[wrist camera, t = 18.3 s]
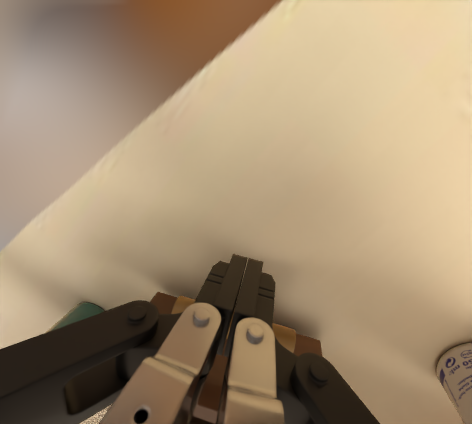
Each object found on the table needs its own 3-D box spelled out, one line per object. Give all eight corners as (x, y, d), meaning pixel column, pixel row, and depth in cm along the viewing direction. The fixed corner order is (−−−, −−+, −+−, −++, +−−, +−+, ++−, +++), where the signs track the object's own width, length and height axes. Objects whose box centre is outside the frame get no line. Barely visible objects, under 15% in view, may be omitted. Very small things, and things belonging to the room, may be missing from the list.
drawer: (160, 247, 18) (94, 315, 12) (339, 297, 17) (371, 404, 10) (150, 396, 26) (105, 487, 19) (274, 440, 24) (269, 554, 18)
